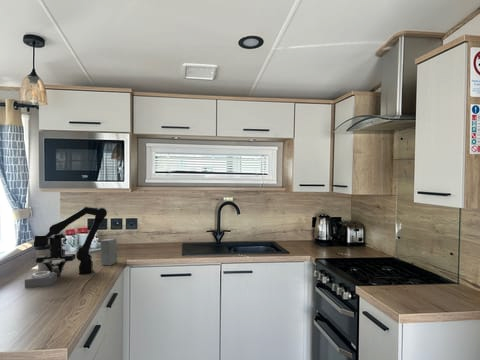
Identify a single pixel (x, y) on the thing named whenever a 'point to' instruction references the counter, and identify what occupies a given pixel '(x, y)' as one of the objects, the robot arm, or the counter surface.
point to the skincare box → (108, 251)
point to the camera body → (41, 279)
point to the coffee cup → (40, 252)
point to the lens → (56, 268)
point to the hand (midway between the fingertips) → (56, 273)
